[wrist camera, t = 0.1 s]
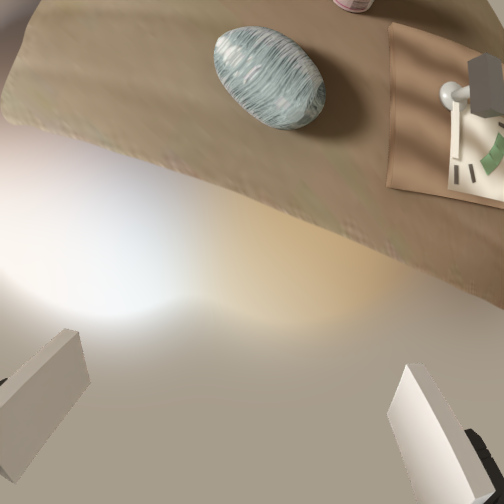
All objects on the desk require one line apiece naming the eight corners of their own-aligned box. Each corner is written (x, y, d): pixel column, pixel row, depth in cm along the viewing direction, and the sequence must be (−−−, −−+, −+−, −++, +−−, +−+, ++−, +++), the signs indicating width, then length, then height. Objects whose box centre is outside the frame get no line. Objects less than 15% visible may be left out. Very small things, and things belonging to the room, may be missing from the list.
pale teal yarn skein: (356, 99, 30) (323, 82, 22) (297, 148, 36) (250, 151, 28) (284, 24, 31) (235, -2, 23) (237, 73, 37) (183, 62, 29)
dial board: (388, 27, 29) (393, 20, 27) (501, 69, 28) (509, 66, 26) (385, 187, 35) (392, 188, 33) (500, 208, 34) (510, 210, 32)
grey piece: (437, 71, 28) (479, 49, 19) (462, 79, 28) (506, 62, 19) (438, 154, 31) (484, 154, 22) (462, 160, 31) (511, 162, 22)
